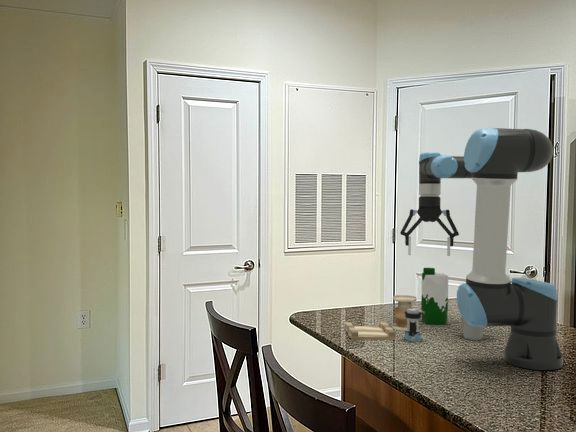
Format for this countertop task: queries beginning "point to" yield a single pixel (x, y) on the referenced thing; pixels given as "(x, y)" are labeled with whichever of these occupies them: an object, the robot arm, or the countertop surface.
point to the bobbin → (402, 311)
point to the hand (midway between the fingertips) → (428, 255)
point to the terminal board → (370, 332)
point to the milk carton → (434, 297)
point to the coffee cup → (472, 331)
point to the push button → (413, 325)
